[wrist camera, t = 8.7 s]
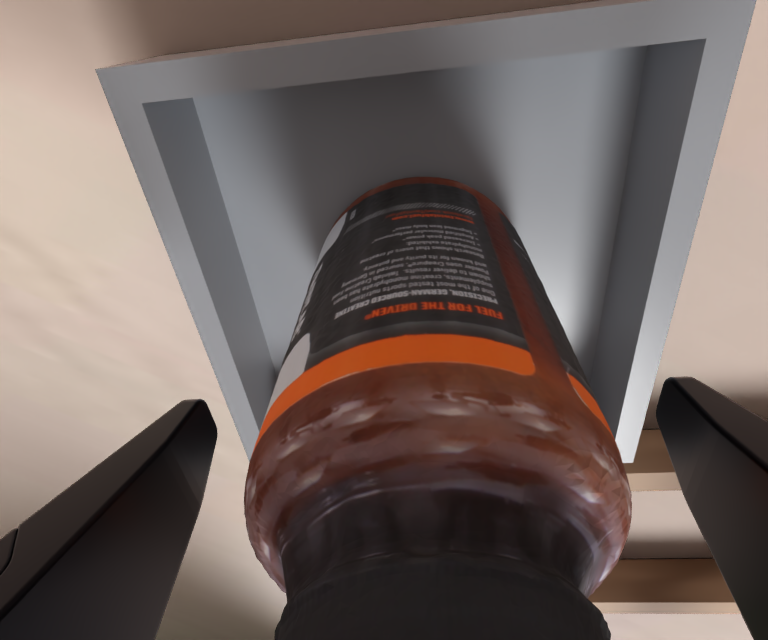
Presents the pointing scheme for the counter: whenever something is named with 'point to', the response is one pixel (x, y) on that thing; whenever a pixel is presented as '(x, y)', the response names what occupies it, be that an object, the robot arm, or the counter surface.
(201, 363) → the counter surface
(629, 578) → the brown wooden square frame
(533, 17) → the tray
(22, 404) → the counter surface
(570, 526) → the supplement bottle
